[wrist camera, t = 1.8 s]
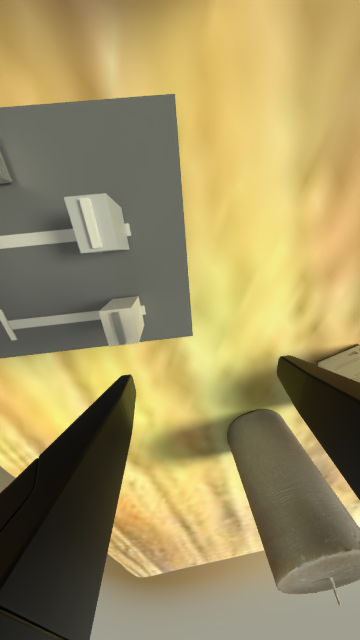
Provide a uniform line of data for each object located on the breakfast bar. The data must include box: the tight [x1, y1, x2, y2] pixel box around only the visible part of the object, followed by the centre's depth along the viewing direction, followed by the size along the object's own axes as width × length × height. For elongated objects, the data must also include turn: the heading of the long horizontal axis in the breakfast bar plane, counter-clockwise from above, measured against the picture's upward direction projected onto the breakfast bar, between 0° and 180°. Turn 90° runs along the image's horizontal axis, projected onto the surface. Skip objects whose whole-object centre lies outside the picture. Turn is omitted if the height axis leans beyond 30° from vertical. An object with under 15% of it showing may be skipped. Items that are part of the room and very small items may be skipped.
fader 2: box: [98, 296, 144, 346], centre depth 14 cm, size 2×3×4 cm
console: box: [0, 94, 193, 358], centre depth 15 cm, size 22×18×2 cm
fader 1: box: [64, 193, 130, 253], centre depth 12 cm, size 2×3×4 cm
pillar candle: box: [227, 409, 360, 605], centre depth 21 cm, size 10×10×15 cm
